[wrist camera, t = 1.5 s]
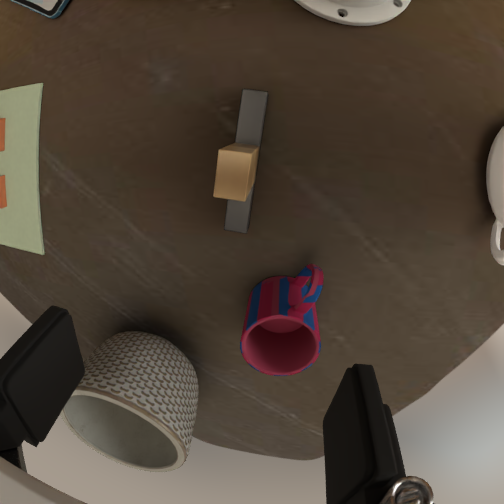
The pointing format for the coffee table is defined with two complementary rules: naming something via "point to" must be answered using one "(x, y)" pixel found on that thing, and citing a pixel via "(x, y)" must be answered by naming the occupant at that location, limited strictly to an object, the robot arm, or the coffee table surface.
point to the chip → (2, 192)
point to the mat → (21, 168)
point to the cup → (283, 323)
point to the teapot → (496, 192)
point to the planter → (136, 402)
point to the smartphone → (44, 6)
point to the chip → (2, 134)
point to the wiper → (241, 161)
